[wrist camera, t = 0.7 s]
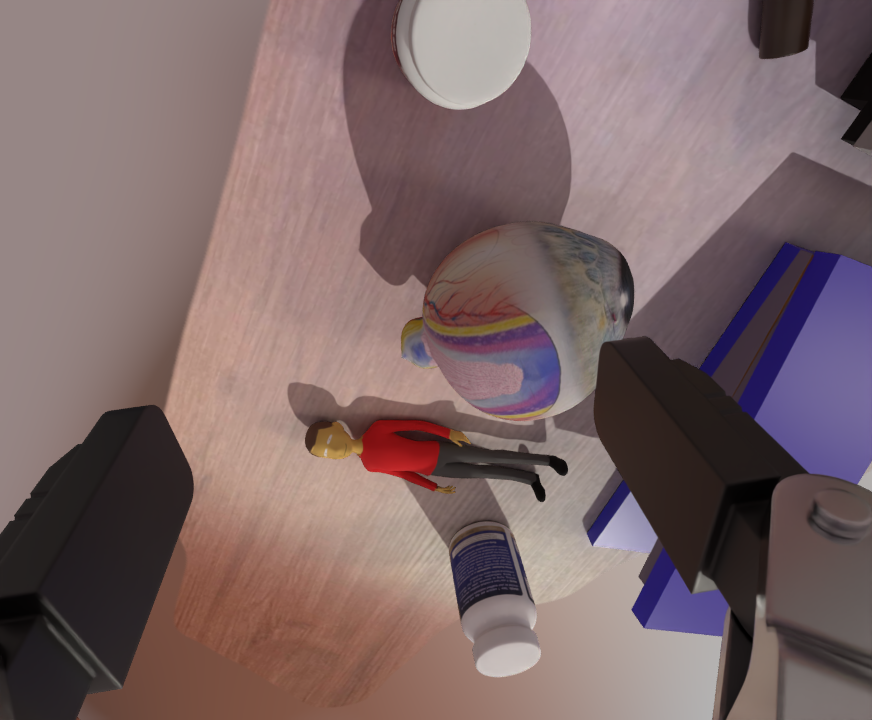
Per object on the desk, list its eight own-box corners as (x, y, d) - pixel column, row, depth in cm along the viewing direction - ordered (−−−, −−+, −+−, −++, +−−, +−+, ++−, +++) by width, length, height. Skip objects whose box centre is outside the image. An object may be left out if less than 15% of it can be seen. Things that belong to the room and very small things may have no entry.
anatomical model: (589, 339, 34) (664, 439, 25) (404, 366, 33) (417, 477, 25) (602, 187, 28) (702, 249, 20) (381, 216, 28) (388, 292, 19)
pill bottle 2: (434, 549, 43) (450, 671, 35) (477, 509, 41) (506, 629, 33) (483, 569, 46) (510, 689, 37) (527, 533, 43) (566, 650, 35)
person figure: (549, 525, 36) (295, 489, 32) (527, 497, 40) (298, 462, 35) (571, 461, 36) (313, 414, 31) (547, 438, 39) (314, 393, 34)
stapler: (580, 532, 44) (630, 645, 36) (784, 230, 31) (936, 298, 23) (687, 546, 47) (755, 653, 39) (914, 276, 34) (1091, 351, 26)
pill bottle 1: (426, -54, 22) (455, -99, 15) (510, 22, 24) (572, 14, 17) (369, 54, 24) (371, 60, 17) (452, 116, 25) (486, 145, 18)
